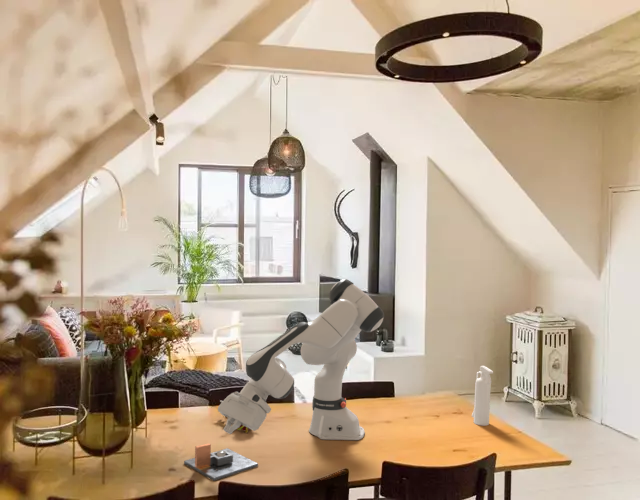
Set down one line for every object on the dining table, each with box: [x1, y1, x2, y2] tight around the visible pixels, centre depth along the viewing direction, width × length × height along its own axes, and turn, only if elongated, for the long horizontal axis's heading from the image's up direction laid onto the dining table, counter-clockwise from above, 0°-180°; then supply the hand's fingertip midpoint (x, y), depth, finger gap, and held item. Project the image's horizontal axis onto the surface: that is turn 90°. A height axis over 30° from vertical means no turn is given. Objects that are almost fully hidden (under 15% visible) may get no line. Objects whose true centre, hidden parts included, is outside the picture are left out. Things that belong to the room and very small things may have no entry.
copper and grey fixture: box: [194, 443, 233, 468], centre depth 200 cm, size 12×6×7 cm, turn 128°
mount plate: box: [183, 448, 259, 482], centre depth 202 cm, size 18×18×4 cm
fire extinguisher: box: [471, 365, 494, 427], centre depth 255 cm, size 7×12×25 cm, turn 16°
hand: (226, 431), depth 197 cm, fingers closed
